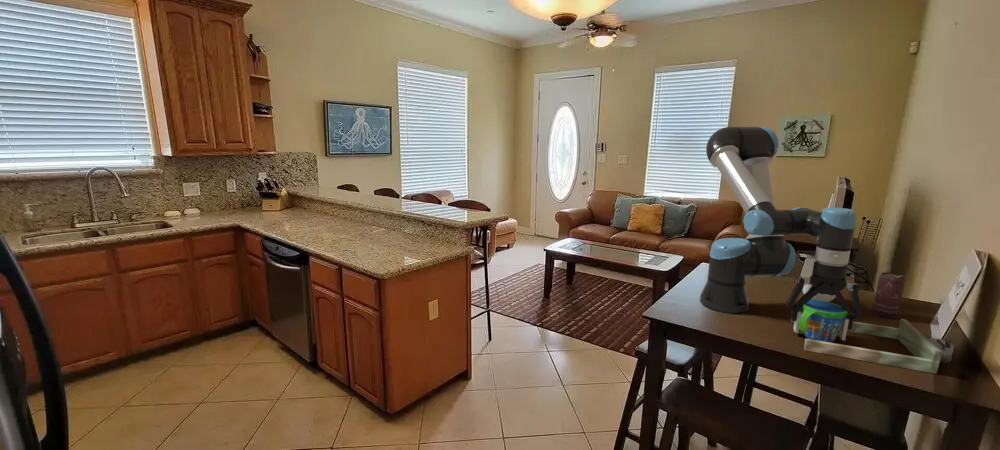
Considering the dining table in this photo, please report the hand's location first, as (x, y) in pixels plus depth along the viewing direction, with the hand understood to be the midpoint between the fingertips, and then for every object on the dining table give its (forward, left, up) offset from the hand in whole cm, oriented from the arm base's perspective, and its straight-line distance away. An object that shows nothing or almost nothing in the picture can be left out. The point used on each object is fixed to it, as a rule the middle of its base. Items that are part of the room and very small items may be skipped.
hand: (818, 334), depth 122 cm
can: (+24, +29, -1) cm, 38 cm away
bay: (+8, 0, -1) cm, 8 cm away
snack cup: (0, 0, -1) cm, 1 cm away
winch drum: (+26, 0, -1) cm, 26 cm away
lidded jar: (+7, +35, -1) cm, 36 cm away
